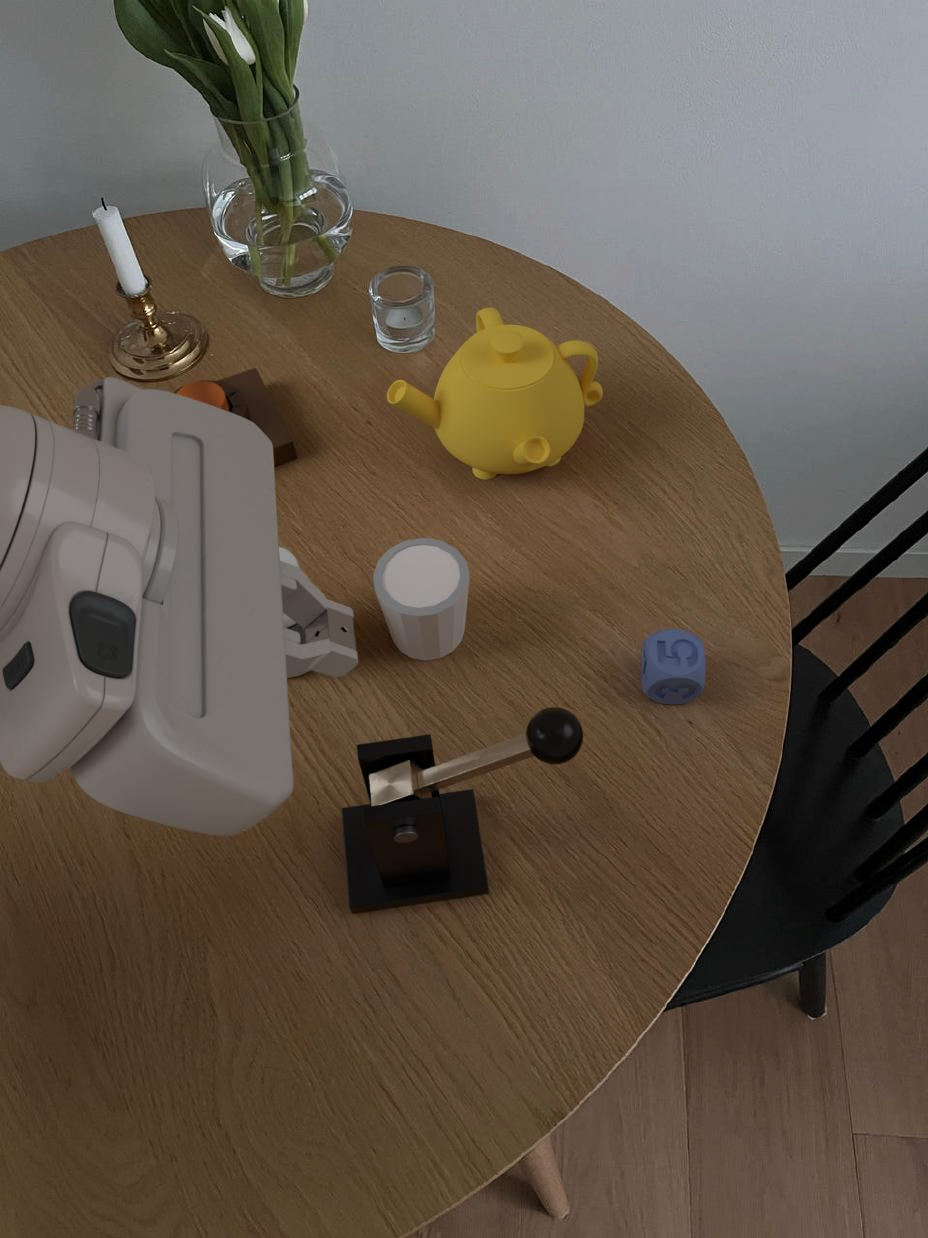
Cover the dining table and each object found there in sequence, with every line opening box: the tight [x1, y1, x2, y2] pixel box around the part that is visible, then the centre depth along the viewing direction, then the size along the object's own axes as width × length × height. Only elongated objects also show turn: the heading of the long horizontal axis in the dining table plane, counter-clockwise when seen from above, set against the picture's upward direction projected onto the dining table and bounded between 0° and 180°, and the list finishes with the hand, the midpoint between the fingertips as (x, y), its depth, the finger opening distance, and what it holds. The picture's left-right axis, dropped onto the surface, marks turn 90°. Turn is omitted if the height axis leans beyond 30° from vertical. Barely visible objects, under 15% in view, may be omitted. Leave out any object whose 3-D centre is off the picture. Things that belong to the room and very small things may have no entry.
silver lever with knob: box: [369, 706, 584, 806], centre depth 61 cm, size 13×3×3 cm, turn 98°
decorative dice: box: [641, 628, 707, 705], centre depth 76 cm, size 4×4×4 cm
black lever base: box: [341, 733, 490, 915], centre depth 66 cm, size 9×7×12 cm
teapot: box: [386, 306, 604, 481], centre depth 86 cm, size 14×14×11 cm
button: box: [176, 380, 229, 412], centre depth 89 cm, size 4×4×2 cm
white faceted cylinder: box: [372, 537, 471, 662], centre depth 78 cm, size 7×7×7 cm
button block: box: [173, 367, 298, 468], centre depth 91 cm, size 12×10×4 cm
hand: (348, 644), depth 50 cm, fingers closed
